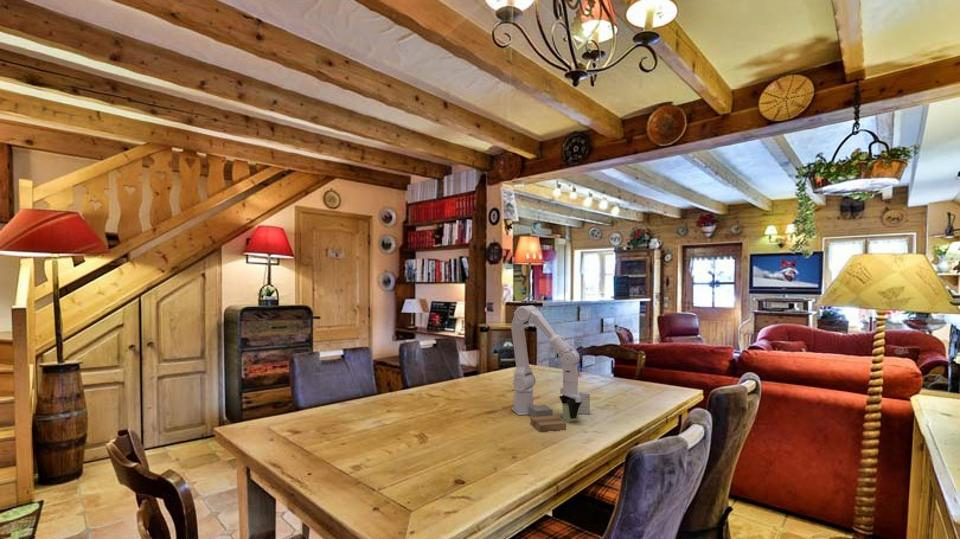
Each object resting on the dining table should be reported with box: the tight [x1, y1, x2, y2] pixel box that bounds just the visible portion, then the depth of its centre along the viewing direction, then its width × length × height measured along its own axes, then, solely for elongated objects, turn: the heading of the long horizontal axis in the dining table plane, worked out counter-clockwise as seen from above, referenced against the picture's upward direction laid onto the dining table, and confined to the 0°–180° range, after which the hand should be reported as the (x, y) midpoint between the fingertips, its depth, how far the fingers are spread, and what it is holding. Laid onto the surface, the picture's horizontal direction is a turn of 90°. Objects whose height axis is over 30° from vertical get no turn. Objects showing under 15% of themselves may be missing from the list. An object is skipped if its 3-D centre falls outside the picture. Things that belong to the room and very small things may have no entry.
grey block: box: [528, 404, 554, 418], centre depth 175 cm, size 7×7×4 cm
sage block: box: [562, 403, 579, 423], centre depth 172 cm, size 4×4×6 cm
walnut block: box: [530, 415, 567, 433], centre depth 163 cm, size 10×10×3 cm
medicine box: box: [578, 390, 591, 415], centre depth 181 cm, size 8×4×9 cm, turn 84°
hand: (570, 416), depth 172 cm, fingers closed on sage block, 4 cm apart
